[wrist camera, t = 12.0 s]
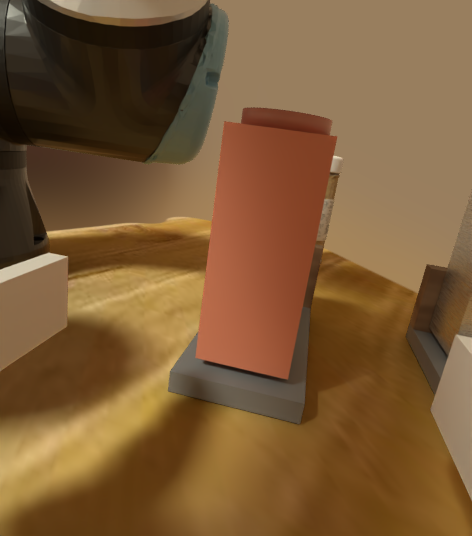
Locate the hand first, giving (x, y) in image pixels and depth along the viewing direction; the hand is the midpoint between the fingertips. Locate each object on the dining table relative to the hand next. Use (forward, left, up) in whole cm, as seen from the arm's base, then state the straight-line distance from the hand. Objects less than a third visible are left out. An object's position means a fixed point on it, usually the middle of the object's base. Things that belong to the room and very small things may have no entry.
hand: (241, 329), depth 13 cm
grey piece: (-5, +12, -7) cm, 14 cm away
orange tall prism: (-3, +8, -5) cm, 10 cm away
